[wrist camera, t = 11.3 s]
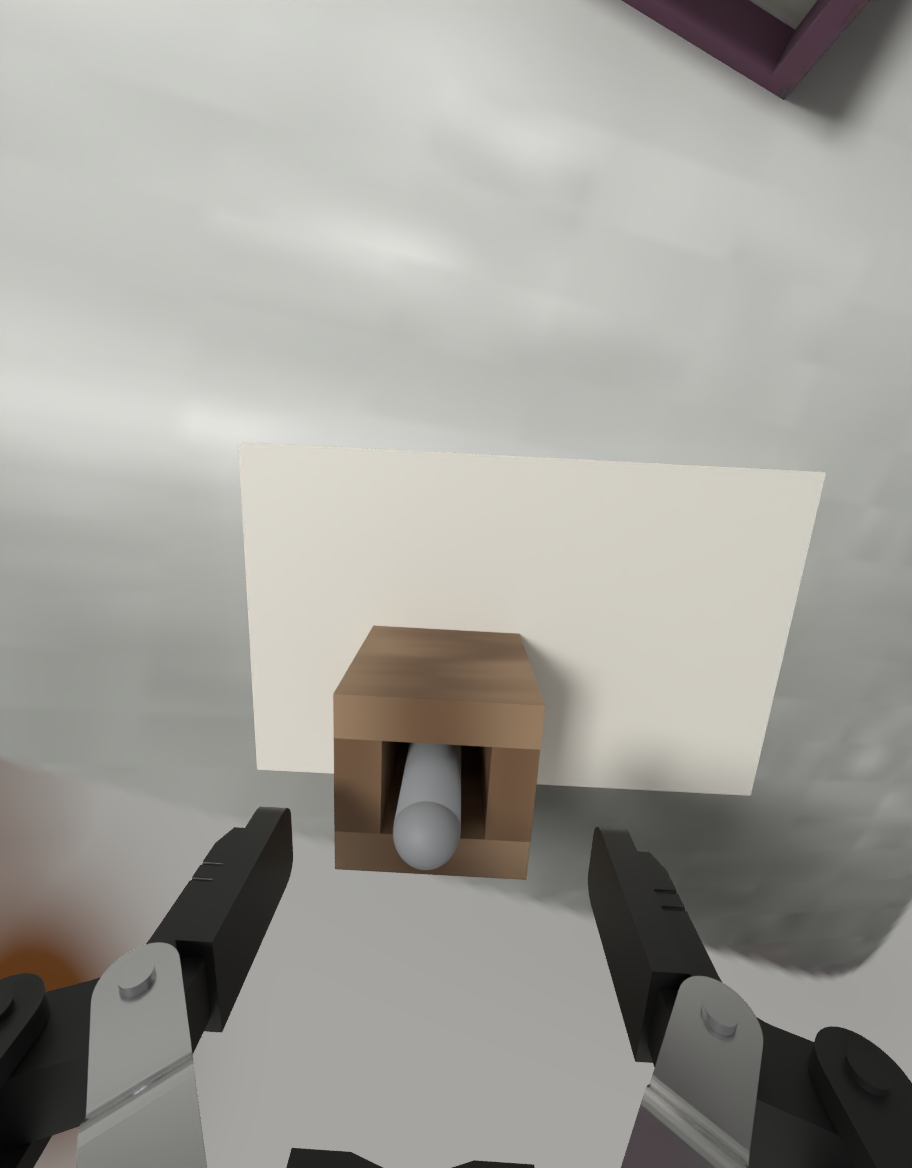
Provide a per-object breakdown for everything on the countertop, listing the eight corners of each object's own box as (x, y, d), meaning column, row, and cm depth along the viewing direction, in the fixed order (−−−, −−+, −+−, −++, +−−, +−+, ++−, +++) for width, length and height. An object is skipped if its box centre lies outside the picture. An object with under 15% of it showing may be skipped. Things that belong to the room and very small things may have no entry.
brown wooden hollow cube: (519, 633, 19) (545, 706, 13) (507, 762, 20) (526, 880, 14) (373, 625, 19) (333, 694, 13) (371, 755, 20) (335, 869, 14)
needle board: (797, 472, 19) (1155, 471, 9) (731, 774, 22) (942, 1010, 12) (255, 444, 19) (34, 413, 9) (270, 749, 22) (120, 966, 12)
